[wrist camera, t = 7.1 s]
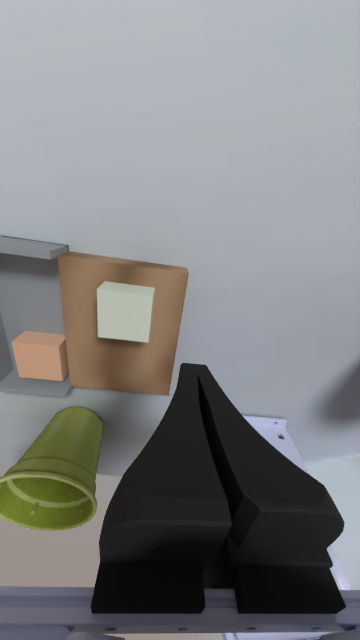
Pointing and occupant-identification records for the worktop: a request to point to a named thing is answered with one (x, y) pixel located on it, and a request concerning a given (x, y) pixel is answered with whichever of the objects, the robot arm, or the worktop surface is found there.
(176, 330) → the board
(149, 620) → the robot arm
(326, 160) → the worktop surface
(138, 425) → the worktop surface
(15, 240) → the tray
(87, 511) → the plant pot
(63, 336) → the tile terracotta
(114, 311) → the tile sage
